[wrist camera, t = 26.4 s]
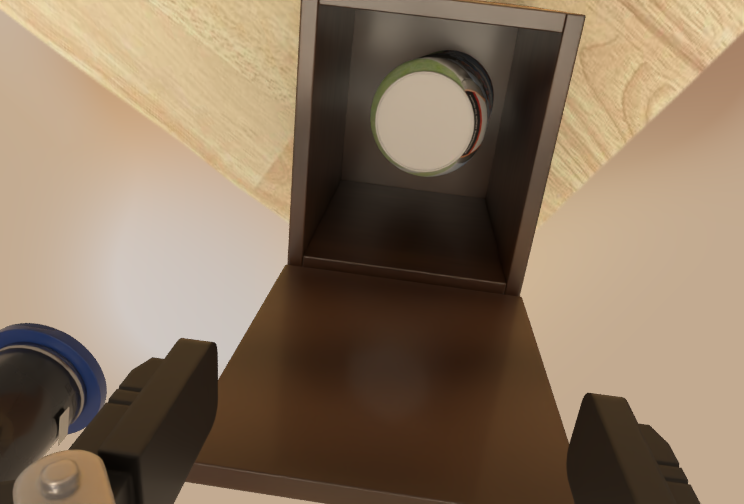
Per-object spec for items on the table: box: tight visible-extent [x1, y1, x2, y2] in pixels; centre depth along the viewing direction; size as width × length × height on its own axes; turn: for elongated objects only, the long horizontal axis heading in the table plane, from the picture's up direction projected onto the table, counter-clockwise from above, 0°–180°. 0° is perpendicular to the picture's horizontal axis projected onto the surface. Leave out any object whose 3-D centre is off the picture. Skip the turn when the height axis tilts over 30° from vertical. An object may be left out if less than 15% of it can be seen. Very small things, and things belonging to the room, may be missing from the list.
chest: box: [288, 0, 585, 297], centre depth 34 cm, size 14×12×14 cm
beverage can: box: [370, 50, 494, 177], centre depth 34 cm, size 6×7×12 cm
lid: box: [185, 265, 575, 504], centre depth 23 cm, size 14×12×1 cm
